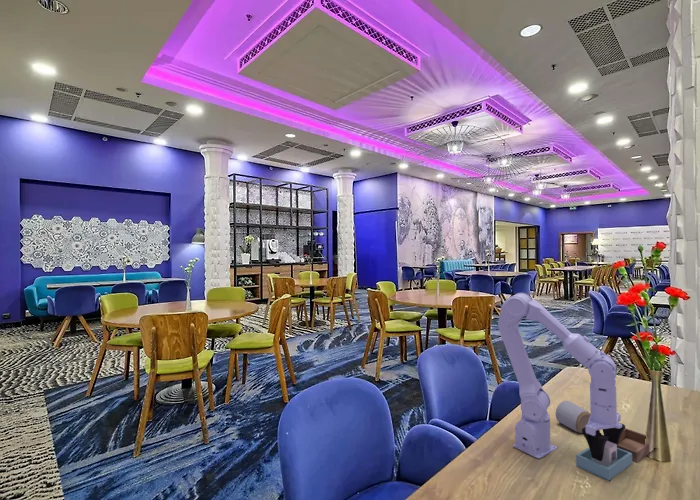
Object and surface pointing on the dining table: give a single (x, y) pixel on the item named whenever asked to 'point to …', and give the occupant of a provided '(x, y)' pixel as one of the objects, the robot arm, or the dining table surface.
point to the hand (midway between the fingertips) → (604, 454)
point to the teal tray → (607, 473)
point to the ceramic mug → (572, 416)
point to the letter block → (608, 454)
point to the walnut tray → (634, 444)
